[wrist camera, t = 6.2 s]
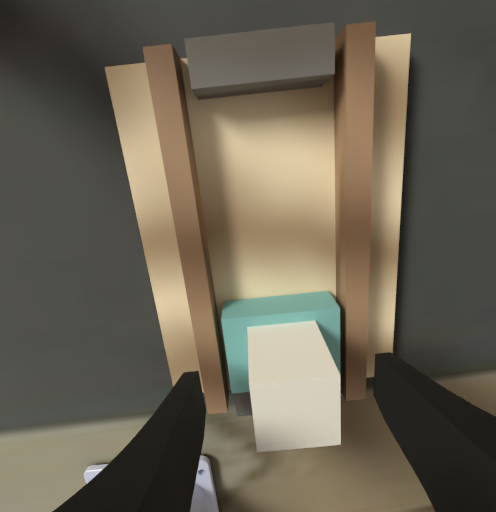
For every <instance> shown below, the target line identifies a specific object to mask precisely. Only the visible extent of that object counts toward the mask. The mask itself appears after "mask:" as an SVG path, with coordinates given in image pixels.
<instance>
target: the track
mask: <svg viewBox="0 0 496 512" xmlns="http://www.w3.org/2000/svg"><path fill="white" fill-rule="evenodd" d="M184 40H185V47H186V54H187V58H183V59H180V57H179V56H178V54H177V52H176V51H175V49H174V47H173V46H172V44H166V45H157V46H148V47H143V52H144V58H145V63H137V64H128V65H119V66H110V67H105V71H106V76H107V81H108V85H109V90H110V95H111V99H112V104H113V109H114V113H115V118H116V123H117V127H118V132H119V136H120V141H121V146H122V150H123V155H124V160H125V164H126V169H127V174H128V178H129V183H130V188H131V192H132V197H133V201H134V206H135V211H136V215H137V220H138V225H139V229H140V234H141V239H142V243H143V248H144V253H145V257H146V262H147V266H148V271H149V276H150V280H151V285H152V290H153V294H154V299H155V304H156V308H157V313H158V318H159V322H160V327H161V331H162V336H163V341H164V345H165V350H166V355H167V359H168V364H169V369H170V373H171V378H172V383H173V387H174V385H175V384H176V382H177V381H178V379H179V378H180V377H181V375H182V374H183V373H184V372H192V371H199V375H200V381H201V387H202V392H203V393H204V395H205V400H206V406H207V412H208V414H215V413H226V412H228V397H229V390H231V385H230V378H229V371H228V364H227V357H226V350H225V343H224V336H223V329H222V322H221V317H222V310H223V302H224V301H230V300H240V299H250V298H260V297H271V296H281V295H291V294H301V293H311V292H321V291H329V292H330V294H331V295H332V297H333V298H334V300H335V301H336V303H337V304H338V306H339V307H340V388H341V391H342V393H343V395H344V398H345V400H346V401H354V400H365V399H366V378H367V377H374V370H375V354H377V353H387V352H391V353H392V354H393V338H394V320H395V303H396V285H397V268H398V250H399V233H400V215H401V198H402V180H403V163H404V145H405V128H406V110H407V93H408V76H409V58H410V41H411V34H402V35H392V36H383V37H376V21H374V22H365V23H356V24H347V25H346V26H345V27H344V29H343V30H342V31H341V33H340V34H339V35H338V37H337V38H336V39H335V27H334V22H331V23H322V24H313V25H304V26H295V27H286V28H277V29H268V30H259V31H250V32H241V33H232V34H223V35H214V36H205V37H196V38H187V39H184ZM234 396H235V403H236V411H237V416H245V415H253V414H252V405H251V397H250V392H243V393H234Z"/></svg>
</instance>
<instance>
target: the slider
mask: <svg viewBox="0 0 496 512" xmlns="http://www.w3.org/2000/svg"><path fill="white" fill-rule="evenodd" d="M221 322H222V329H223V336H224V343H225V350H226V357H227V364H228V371H229V378H230V385H231V392H232V393H243V392H250V397H251V405H252V414H253V422H254V430H255V439H256V447H257V452H266V451H277V450H288V449H299V448H310V447H321V446H331V445H341V398H340V307H339V306H338V304H337V303H336V301H335V300H334V298H333V297H332V295H331V294H330V292H329V291H321V292H311V293H301V294H291V295H281V296H271V297H260V298H250V299H240V300H230V301H224V302H223V310H222V317H221Z"/></svg>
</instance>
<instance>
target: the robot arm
mask: <svg viewBox="0 0 496 512" xmlns="http://www.w3.org/2000/svg"><path fill="white" fill-rule="evenodd" d="M374 397H375V399H376V402H377V404H378V406H379V409H380V411H381V413H382V415H383V418H384V420H385V422H386V423H387V425H388V427H389V429H390V430H391V432H392V434H393V436H394V437H395V439H396V441H397V442H398V444H399V446H400V448H401V449H402V451H403V453H404V454H405V456H406V458H407V460H408V461H409V463H410V465H411V466H412V468H413V470H414V471H415V473H416V475H417V477H418V478H419V480H420V482H421V484H422V486H423V487H424V489H425V491H426V493H427V495H428V497H429V499H430V501H431V503H432V505H433V508H434V510H435V512H496V417H495V416H493V415H491V414H489V413H487V412H485V411H483V410H482V409H480V408H478V407H476V406H474V405H472V404H471V403H469V402H467V401H466V400H464V399H462V398H460V397H459V396H457V395H455V394H454V393H452V392H450V391H449V390H447V389H446V388H444V387H442V386H441V385H439V384H438V383H436V382H434V381H433V380H431V379H430V378H428V377H427V376H425V375H424V374H422V373H421V372H419V371H418V370H416V369H415V368H413V367H412V366H410V365H409V364H407V363H406V362H404V361H403V360H401V359H400V358H398V357H397V356H395V355H394V354H392V353H391V352H387V353H377V354H375V370H374ZM205 415H206V409H205V403H204V398H203V392H202V387H201V381H200V375H199V371H192V372H184V373H183V374H182V375H181V377H180V378H179V379H178V381H177V382H176V384H175V385H174V387H173V388H172V390H171V391H170V392H169V394H168V395H167V397H166V398H165V399H164V401H163V402H162V403H161V405H160V406H159V407H158V409H157V410H156V411H155V413H154V414H153V415H152V417H151V418H150V419H149V420H148V421H147V423H146V424H145V425H144V426H143V428H142V429H141V430H140V431H139V432H138V434H137V435H136V436H135V437H134V438H133V439H132V440H131V442H130V443H129V444H128V445H127V446H126V447H125V448H124V449H123V450H122V451H121V452H120V453H119V454H118V455H117V456H116V457H115V458H114V459H113V460H112V461H111V462H110V463H109V464H101V465H92V466H89V467H87V469H86V471H85V473H84V478H85V481H86V483H87V484H86V485H85V486H84V487H83V488H81V489H80V490H79V491H78V492H77V493H76V494H74V495H73V496H72V497H71V498H69V499H68V500H67V501H66V502H64V503H63V504H62V505H61V506H59V507H58V508H57V509H56V510H54V511H53V512H219V508H218V503H217V498H216V492H215V487H214V482H213V476H212V471H211V466H210V461H209V458H207V457H206V456H203V455H201V450H202V444H203V439H204V429H205Z"/></svg>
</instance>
